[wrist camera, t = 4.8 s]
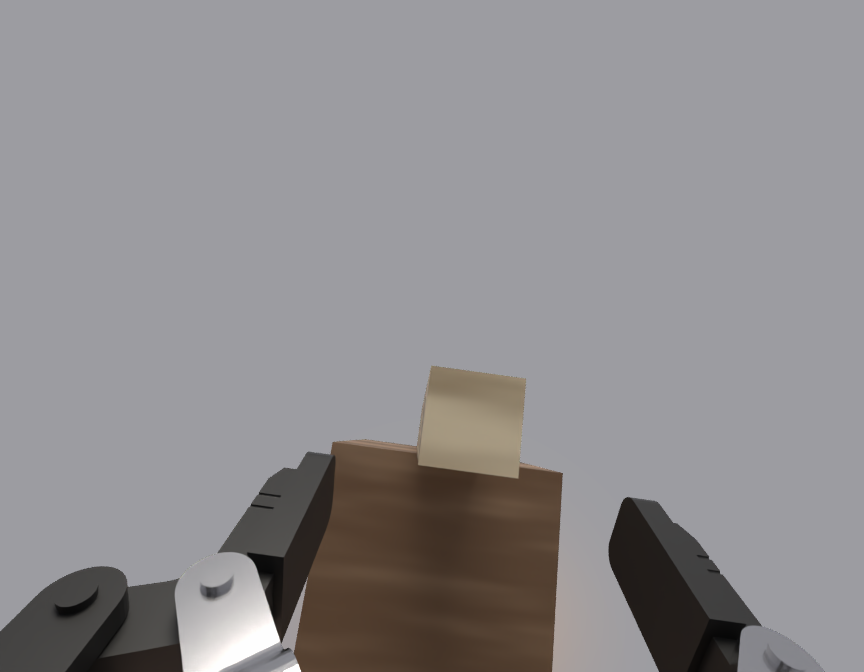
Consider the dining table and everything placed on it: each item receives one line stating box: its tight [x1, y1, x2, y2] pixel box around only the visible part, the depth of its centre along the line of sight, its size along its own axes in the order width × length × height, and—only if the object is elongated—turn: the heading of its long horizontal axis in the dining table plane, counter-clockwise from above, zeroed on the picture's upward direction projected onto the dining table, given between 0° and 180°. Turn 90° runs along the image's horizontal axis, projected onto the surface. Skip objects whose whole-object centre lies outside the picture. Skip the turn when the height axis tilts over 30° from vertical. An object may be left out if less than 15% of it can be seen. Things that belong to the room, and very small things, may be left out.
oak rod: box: [417, 366, 526, 478], centre depth 24 cm, size 22×3×3 cm, turn 2°
